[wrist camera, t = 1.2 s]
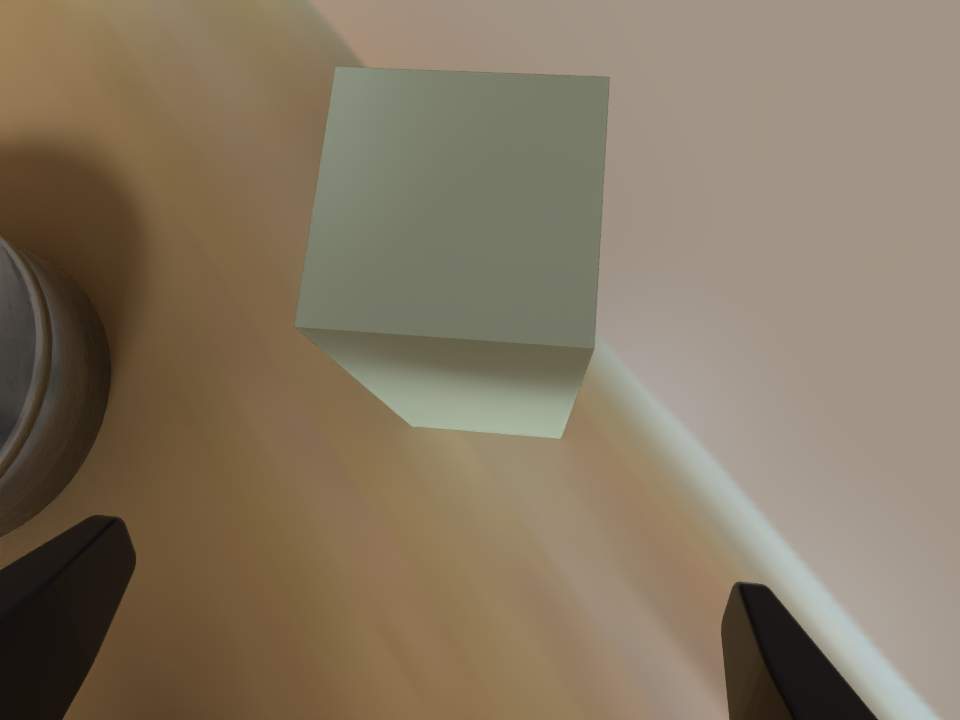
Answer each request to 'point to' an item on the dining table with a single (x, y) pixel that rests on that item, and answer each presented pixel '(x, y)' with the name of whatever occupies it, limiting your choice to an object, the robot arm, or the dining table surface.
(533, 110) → the sage block
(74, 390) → the charcoal tin
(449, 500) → the dining table surface
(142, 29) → the dining table surface
